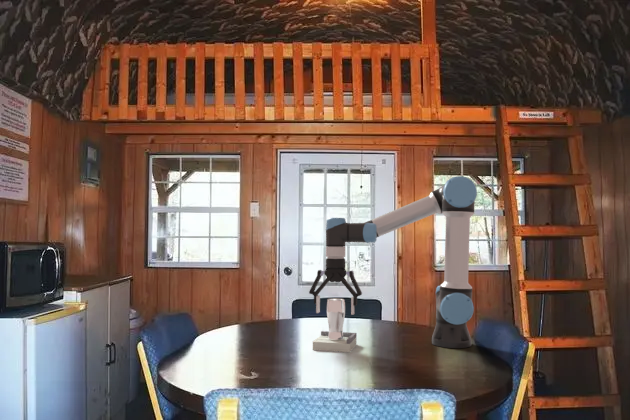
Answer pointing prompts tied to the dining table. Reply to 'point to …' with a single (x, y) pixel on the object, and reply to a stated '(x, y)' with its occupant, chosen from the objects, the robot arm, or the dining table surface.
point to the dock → (335, 342)
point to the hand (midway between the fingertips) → (335, 313)
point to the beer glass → (335, 318)
